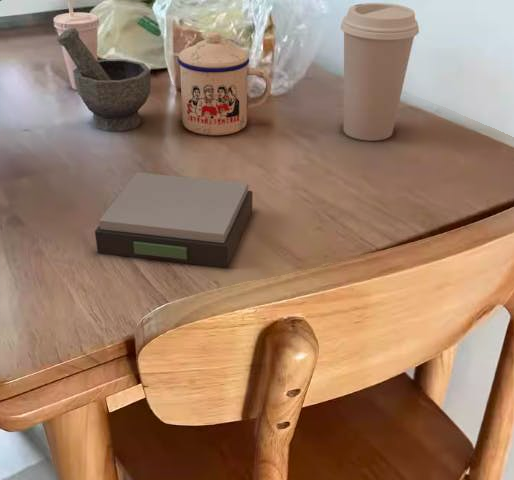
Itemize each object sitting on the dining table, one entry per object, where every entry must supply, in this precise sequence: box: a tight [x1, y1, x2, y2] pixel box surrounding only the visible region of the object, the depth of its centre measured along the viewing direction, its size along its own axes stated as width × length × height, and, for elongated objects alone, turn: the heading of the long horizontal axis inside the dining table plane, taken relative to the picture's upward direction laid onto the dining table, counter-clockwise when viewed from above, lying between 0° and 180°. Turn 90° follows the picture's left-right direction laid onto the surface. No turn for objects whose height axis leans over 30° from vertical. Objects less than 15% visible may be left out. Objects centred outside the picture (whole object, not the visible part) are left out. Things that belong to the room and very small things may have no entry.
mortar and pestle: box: [57, 28, 152, 132], centre depth 95 cm, size 11×9×12 cm
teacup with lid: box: [177, 31, 272, 136], centre depth 95 cm, size 12×9×12 cm
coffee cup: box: [340, 2, 420, 142], centre depth 93 cm, size 10×10×15 cm
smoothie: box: [53, 0, 101, 91], centre depth 105 cm, size 6×6×14 cm
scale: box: [94, 172, 253, 269], centre depth 74 cm, size 13×12×3 cm
